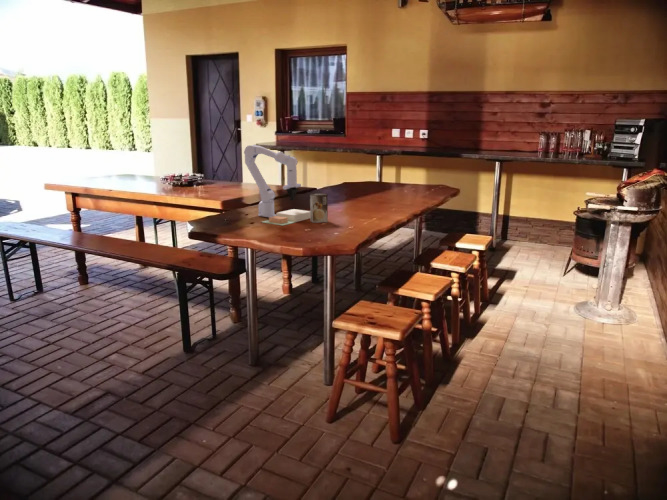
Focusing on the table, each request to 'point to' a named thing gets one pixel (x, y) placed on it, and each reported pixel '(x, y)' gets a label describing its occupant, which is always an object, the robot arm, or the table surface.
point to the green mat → (279, 223)
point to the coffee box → (318, 208)
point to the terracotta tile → (278, 219)
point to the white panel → (295, 215)
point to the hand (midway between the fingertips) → (292, 200)
